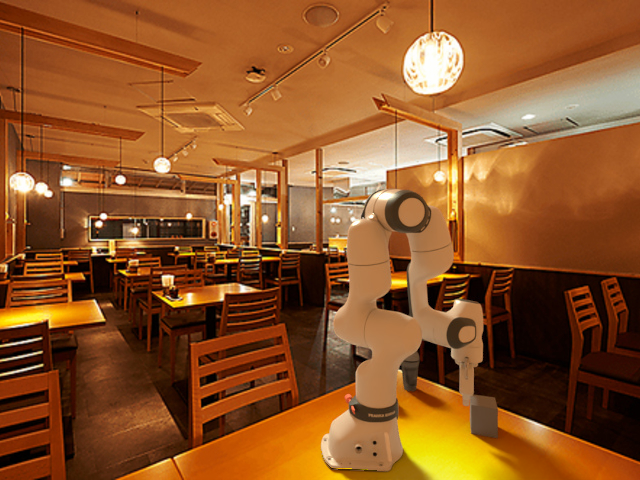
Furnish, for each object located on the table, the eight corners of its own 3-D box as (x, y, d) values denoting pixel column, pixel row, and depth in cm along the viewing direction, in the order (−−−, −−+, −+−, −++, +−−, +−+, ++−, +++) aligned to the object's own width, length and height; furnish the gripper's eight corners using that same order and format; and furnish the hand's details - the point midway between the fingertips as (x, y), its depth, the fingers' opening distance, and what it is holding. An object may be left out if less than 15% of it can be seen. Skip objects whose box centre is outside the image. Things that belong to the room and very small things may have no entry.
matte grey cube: (497, 438, 100) (497, 409, 99) (471, 433, 102) (471, 404, 102) (494, 425, 106) (494, 397, 106) (469, 420, 109) (469, 393, 108)
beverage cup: (420, 394, 126) (420, 339, 125) (400, 392, 128) (399, 339, 127) (419, 385, 133) (418, 333, 133) (399, 383, 135) (399, 332, 134)
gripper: (479, 366, 94) (478, 416, 95) (477, 344, 113) (476, 386, 113) (454, 362, 97) (453, 411, 97) (456, 342, 116) (455, 383, 116)
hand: (465, 397), depth 105 cm, fingers open, 8 cm apart
